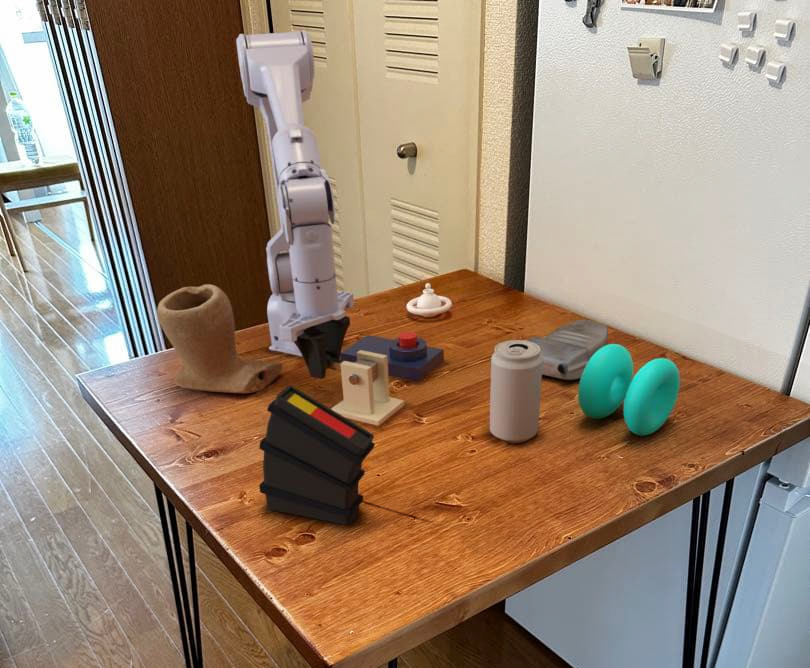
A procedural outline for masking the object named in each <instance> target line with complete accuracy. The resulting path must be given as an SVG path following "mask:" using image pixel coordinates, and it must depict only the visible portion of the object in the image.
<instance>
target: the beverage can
mask: <svg viewBox="0 0 810 668" xmlns="http://www.w3.org/2000/svg"><path fill="white" fill-rule="evenodd" d="M542 365H543V357H542V355H541V354H540V347H539V346H538V345H537V344H535V343H533V342H530V341H528V340H524V339H510V340H505V341H502V342H500V343H498V344H496V345H495V346H494V352H493V353H492V355H491V359H490V392H489V395H490V397H489V432H490V434H492V435H493V436H494V437H496V438H497V439H500V440H502V441H506V443H508V444H520V443H523V442H527V441H528V440H530V439H531V438H533V437H534V436H536V434H537V433H538V431H539V425H540V423H539V422H540V410H541V409H540V408H541V395H542V394H541V393H542V380H543V379H542V378H543V374H542Z"/></svg>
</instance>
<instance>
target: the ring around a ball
mask: <svg viewBox="0 0 810 668" xmlns="http://www.w3.org/2000/svg"><path fill="white" fill-rule="evenodd" d="M431 287H432V285H431V283H429V282H427V283H425V288H424V289H423V290H422V294H420V296H418V297H415V298H413V299H411V300H409V301H408V302H407V303H406V310H407V311H408V312H409V313H410V314H414V315H416V316H422V317H424V318H433V317H436V316H438V315H440V314H444V313H446V312H448V311H449V310H451V308H452V306H453V302H452V300H451V299H450V298H448V297H446V296H442V295H438V294H436V293H434V292H435V290H434V288H431ZM442 304H444V305H442Z"/></svg>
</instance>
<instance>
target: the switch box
mask: <svg viewBox="0 0 810 668" xmlns="http://www.w3.org/2000/svg"><path fill="white" fill-rule="evenodd" d="M359 359H364V360H368V361H372V362H375V363H378V379H377V380H376V381H374V382H373V380H372V367H371V366H366V365H362V364H357V363H352V362H348V361H343V362H342V363H341V370H340V373H341V374H340V375H341V385H342V394H343V395H342V396H343V399H342V400H340V402H338V403H337V404H335V405H334V406H333V407H331V408H330V409H332V410H333V411H335V412H337V413H338V414H340V415H342V416H343V417H345V418H347V419H348V420H354V421H357V422H362V423H366V424H370V425H374V426H378V427H379V426H380V425H382V424H383V423H384V422H386V420H388V419H389V418H391V417H392V416H393V415H394V414H395V413H396V412H398V411H399V410H400V409H402V408H403V407H404V406H405V400H403V399H399V398H396V397H391V396H390V381H389V379H390V378H389V375H388V360H387V355H382V354H377V353H373V352H368V351H363V350H360V351H358V352H357V360H359Z"/></svg>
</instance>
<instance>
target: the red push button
mask: <svg viewBox="0 0 810 668" xmlns="http://www.w3.org/2000/svg"><path fill="white" fill-rule="evenodd" d="M417 337H418V334H417V333H416V332H414V331H404V332H400V333H399V334H398V337H397V338H399V347H400V348H413V347H417Z"/></svg>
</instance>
